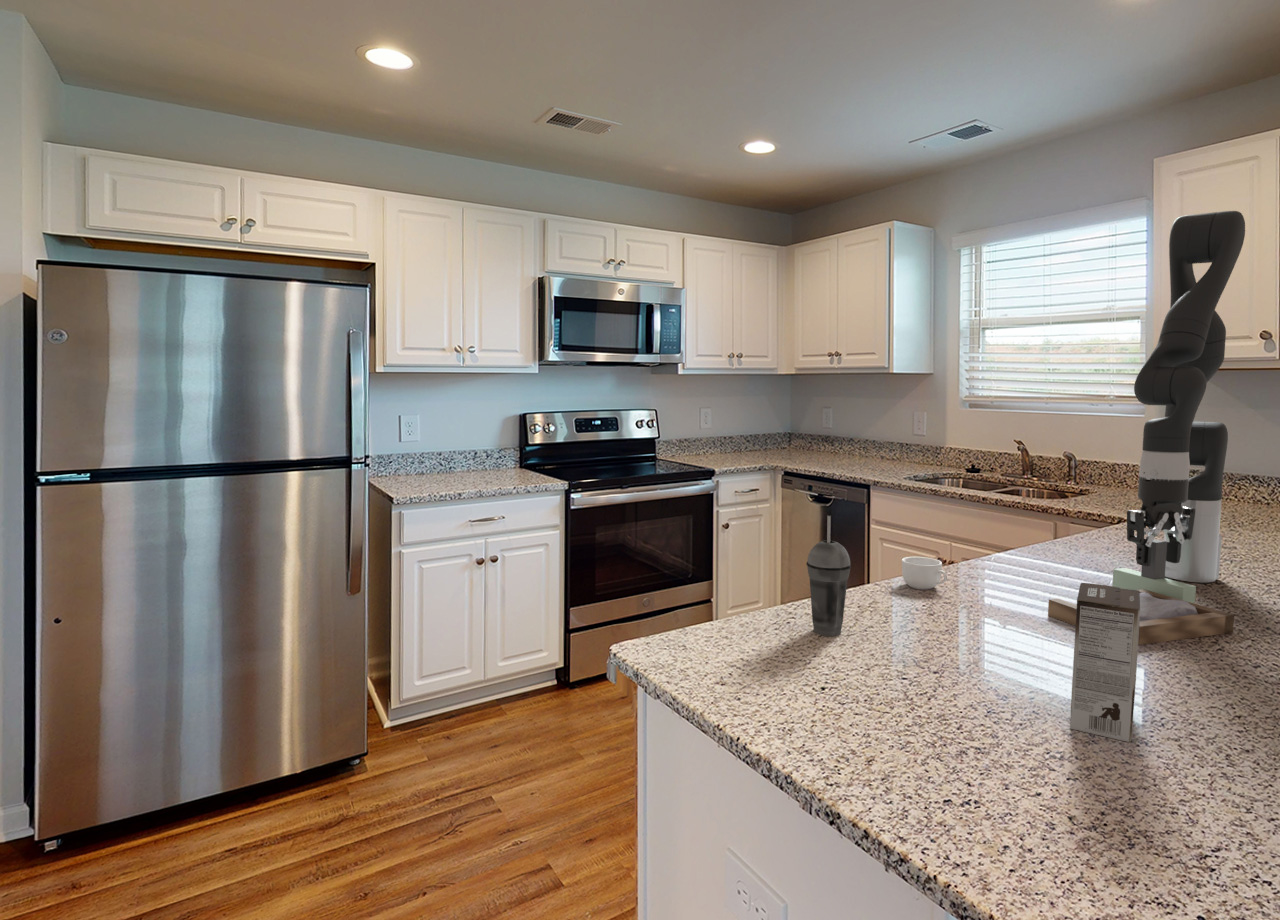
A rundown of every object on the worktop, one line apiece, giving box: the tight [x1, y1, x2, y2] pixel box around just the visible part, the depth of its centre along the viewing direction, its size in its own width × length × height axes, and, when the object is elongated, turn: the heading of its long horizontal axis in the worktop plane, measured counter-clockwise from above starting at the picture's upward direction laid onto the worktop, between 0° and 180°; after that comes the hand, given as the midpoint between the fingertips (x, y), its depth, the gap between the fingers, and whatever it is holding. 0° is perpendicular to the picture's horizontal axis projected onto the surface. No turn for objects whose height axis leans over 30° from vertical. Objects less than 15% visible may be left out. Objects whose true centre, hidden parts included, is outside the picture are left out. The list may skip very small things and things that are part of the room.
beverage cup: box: [806, 515, 852, 637], centre depth 122 cm, size 7×7×20 cm
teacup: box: [901, 556, 948, 590], centre depth 149 cm, size 10×8×5 cm
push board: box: [1111, 538, 1197, 604], centre depth 137 cm, size 14×3×12 cm, turn 16°
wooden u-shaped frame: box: [1047, 589, 1235, 646], centre depth 125 cm, size 22×16×3 cm
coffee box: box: [1069, 582, 1140, 743], centre depth 89 cm, size 9×6×16 cm
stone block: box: [1140, 593, 1198, 621], centre depth 128 cm, size 12×5×10 cm
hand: (1157, 563), depth 136 cm, fingers open, 6 cm apart
